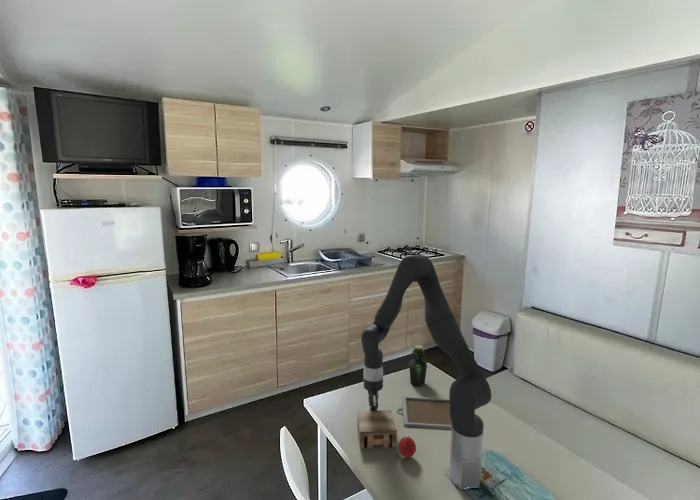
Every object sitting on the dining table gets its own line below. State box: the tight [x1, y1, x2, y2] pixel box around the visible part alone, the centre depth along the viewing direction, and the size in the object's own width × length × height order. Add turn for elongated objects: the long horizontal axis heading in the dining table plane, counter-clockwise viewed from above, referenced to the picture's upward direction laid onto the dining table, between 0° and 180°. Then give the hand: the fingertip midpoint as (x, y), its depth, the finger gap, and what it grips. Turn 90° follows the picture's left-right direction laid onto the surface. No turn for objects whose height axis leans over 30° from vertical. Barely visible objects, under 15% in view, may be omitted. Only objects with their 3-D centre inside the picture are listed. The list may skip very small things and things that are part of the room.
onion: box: [397, 435, 417, 459], centre depth 123 cm, size 6×6×8 cm
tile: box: [373, 435, 391, 446], centre depth 136 cm, size 13×6×2 cm, turn 4°
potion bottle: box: [408, 344, 428, 388], centre depth 170 cm, size 8×8×18 cm
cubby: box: [356, 409, 398, 449], centre depth 134 cm, size 12×13×6 cm
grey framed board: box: [395, 395, 452, 430], centre depth 148 cm, size 19×2×30 cm
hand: (372, 416), depth 144 cm, fingers closed
